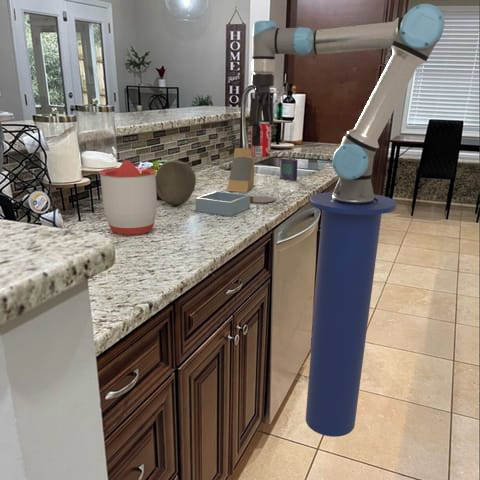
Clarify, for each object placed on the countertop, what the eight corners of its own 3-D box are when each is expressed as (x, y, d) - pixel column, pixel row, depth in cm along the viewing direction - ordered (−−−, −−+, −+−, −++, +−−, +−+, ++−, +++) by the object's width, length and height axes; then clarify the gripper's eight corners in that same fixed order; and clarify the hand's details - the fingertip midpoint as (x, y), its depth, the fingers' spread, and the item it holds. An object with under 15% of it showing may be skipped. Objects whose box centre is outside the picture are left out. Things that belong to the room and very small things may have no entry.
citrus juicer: (169, 224, 153) (166, 156, 145) (146, 239, 137) (142, 165, 129) (121, 220, 156) (116, 154, 148) (94, 235, 140) (86, 162, 133)
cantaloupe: (196, 209, 171) (195, 164, 165) (154, 209, 170) (151, 164, 164) (196, 200, 184) (195, 158, 178) (157, 200, 183) (155, 158, 177)
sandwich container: (226, 191, 200) (226, 152, 194) (234, 184, 214) (234, 147, 208) (247, 192, 199) (247, 153, 193) (254, 185, 212) (254, 148, 206)
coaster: (279, 199, 188) (279, 198, 188) (266, 204, 179) (266, 203, 179) (253, 195, 192) (253, 194, 192) (239, 201, 184) (239, 200, 183)
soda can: (267, 156, 183) (269, 121, 178) (272, 158, 177) (273, 123, 172) (248, 156, 182) (249, 121, 177) (252, 159, 176) (253, 123, 171)
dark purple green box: (278, 178, 229) (279, 154, 224) (282, 177, 231) (283, 153, 226) (294, 181, 223) (296, 156, 219) (298, 180, 225) (300, 155, 221)
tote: (249, 208, 174) (250, 195, 172) (230, 216, 163) (230, 202, 161) (216, 203, 180) (216, 190, 178) (195, 211, 169) (195, 197, 167)
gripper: (265, 74, 178) (263, 141, 187) (239, 72, 162) (238, 146, 171) (285, 74, 175) (282, 142, 184) (259, 73, 159) (257, 148, 168)
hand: (260, 144), depth 178 cm, fingers closed on soda can, 7 cm apart
